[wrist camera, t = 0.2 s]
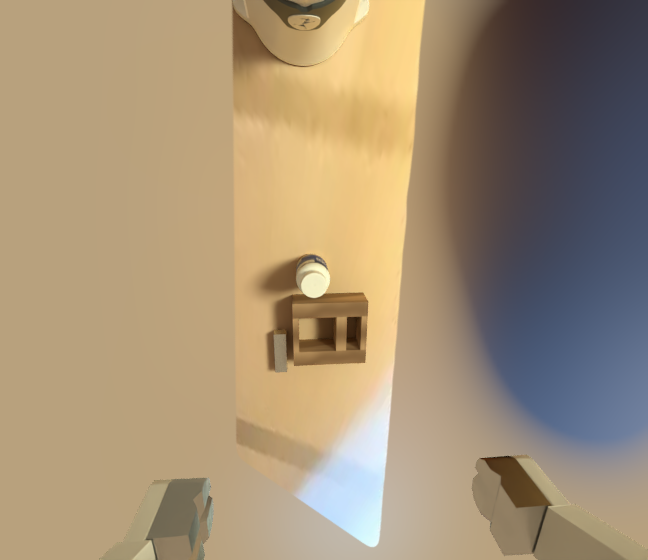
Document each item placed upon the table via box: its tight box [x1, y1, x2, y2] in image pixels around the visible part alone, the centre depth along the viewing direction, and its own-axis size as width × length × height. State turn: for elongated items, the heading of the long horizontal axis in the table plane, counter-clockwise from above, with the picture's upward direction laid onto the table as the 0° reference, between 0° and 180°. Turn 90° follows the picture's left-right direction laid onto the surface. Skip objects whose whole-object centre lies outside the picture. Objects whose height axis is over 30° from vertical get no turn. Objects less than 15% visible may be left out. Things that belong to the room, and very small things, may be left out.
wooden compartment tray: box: [292, 293, 368, 366], centre depth 58 cm, size 12×13×4 cm
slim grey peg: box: [274, 329, 287, 372], centre depth 61 cm, size 8×2×2 cm, turn 0°
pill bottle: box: [296, 254, 330, 298], centre depth 52 cm, size 5×5×10 cm
